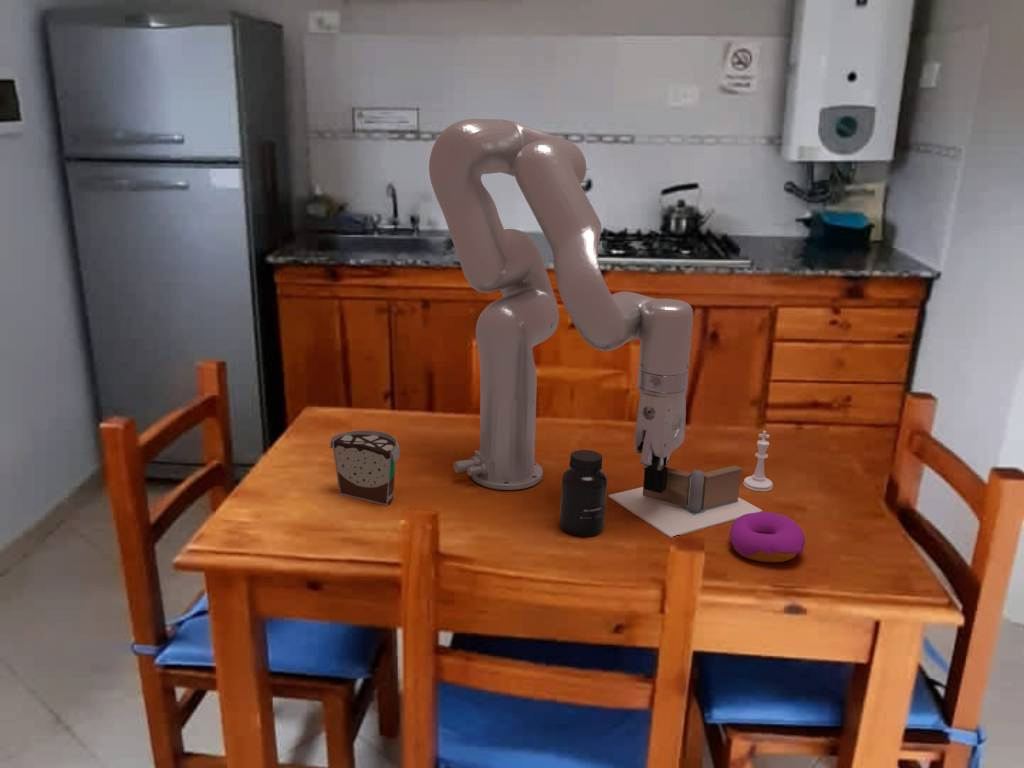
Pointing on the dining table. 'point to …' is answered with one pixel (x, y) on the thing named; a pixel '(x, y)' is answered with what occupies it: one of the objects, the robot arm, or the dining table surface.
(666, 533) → the fence base
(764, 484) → the chess piece
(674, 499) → the fence panel
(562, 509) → the supplement bottle
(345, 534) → the dining table surface
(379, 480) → the food container
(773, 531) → the donut
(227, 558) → the dining table surface
